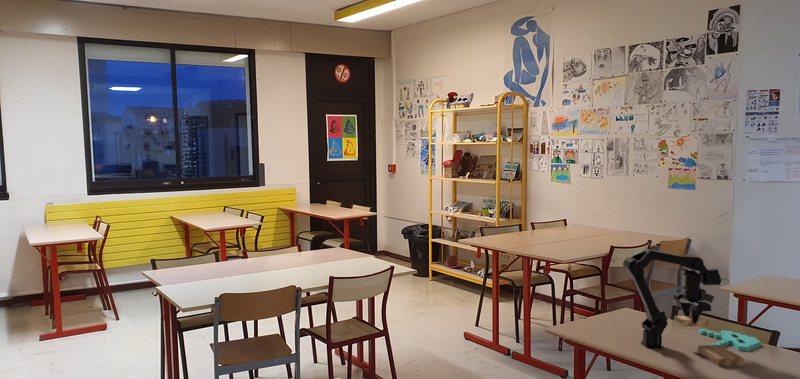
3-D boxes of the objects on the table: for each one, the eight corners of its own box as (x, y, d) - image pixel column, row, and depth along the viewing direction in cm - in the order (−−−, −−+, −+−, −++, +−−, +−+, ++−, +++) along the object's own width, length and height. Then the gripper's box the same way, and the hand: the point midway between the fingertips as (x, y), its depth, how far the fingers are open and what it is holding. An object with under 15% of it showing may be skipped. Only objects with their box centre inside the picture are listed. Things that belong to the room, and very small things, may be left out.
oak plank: (681, 326, 229) (681, 319, 229) (673, 322, 234) (674, 316, 234) (708, 325, 231) (708, 318, 230) (700, 322, 236) (700, 315, 235)
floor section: (718, 366, 212) (719, 358, 211) (697, 352, 226) (698, 345, 225) (743, 366, 212) (744, 358, 212) (721, 352, 226) (721, 345, 226)
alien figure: (714, 349, 230) (768, 353, 226) (715, 344, 230) (768, 348, 226) (699, 333, 250) (747, 336, 246) (699, 329, 250) (748, 332, 246)
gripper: (725, 290, 222) (723, 328, 223) (698, 279, 241) (696, 314, 242) (698, 291, 222) (696, 328, 223) (673, 279, 240) (672, 314, 241)
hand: (690, 321), depth 232 cm, fingers closed on oak plank, 5 cm apart
